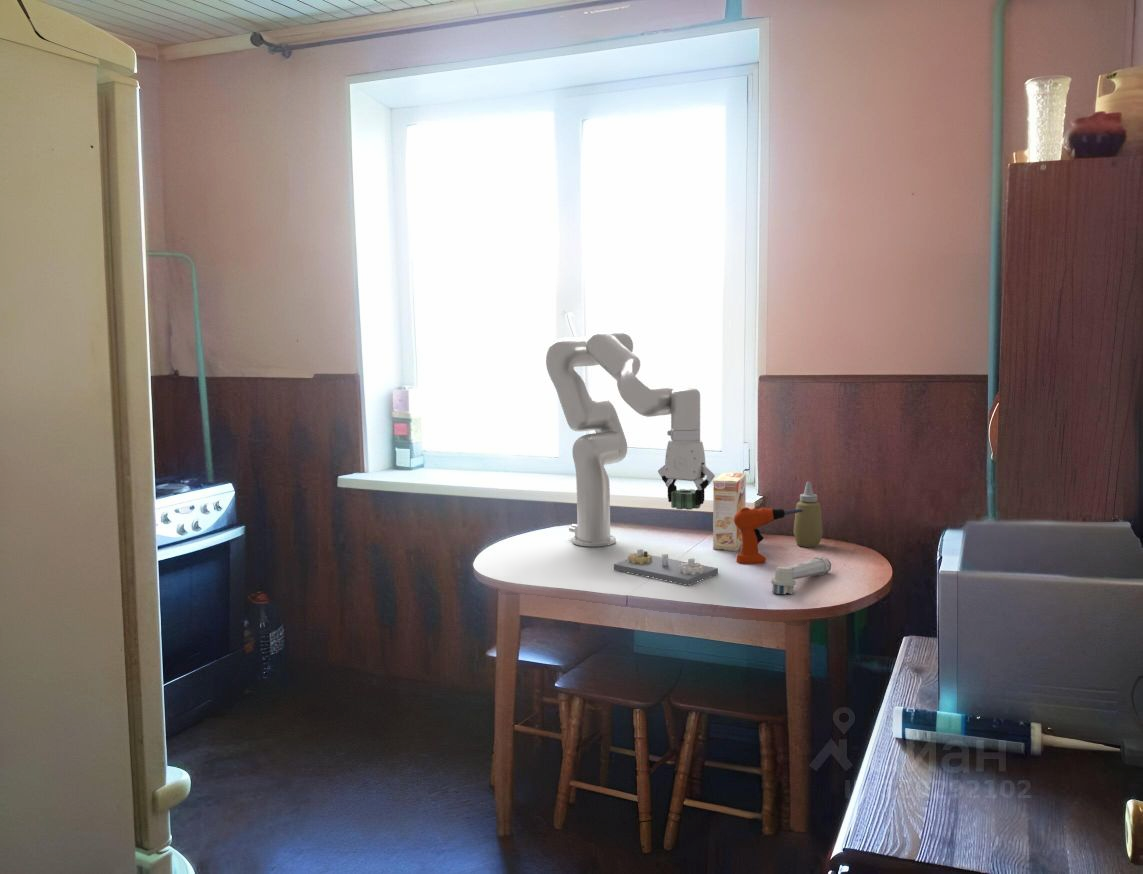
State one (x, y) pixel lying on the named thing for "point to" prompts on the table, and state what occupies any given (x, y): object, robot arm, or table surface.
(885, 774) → the table surface
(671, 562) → the gear board
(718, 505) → the coffeecake box
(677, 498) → the idler gear
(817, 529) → the squeeze bottle
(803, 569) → the toothbrush head
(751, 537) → the toy drill
